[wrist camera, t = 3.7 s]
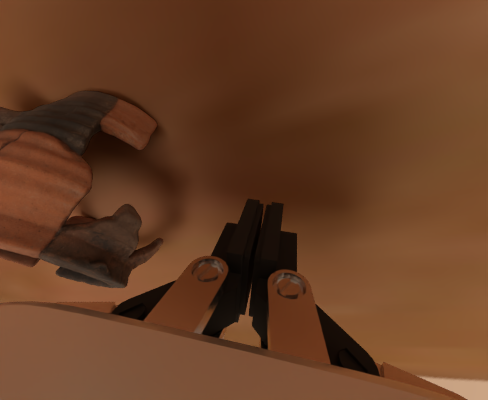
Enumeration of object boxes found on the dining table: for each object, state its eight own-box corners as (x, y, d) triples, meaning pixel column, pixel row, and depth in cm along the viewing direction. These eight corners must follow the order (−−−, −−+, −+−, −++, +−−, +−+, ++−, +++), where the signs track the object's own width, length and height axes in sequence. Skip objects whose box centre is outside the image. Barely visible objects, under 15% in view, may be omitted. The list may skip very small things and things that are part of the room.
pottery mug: (214, 135, 13) (153, 289, 9) (173, 199, 21) (130, 298, 16) (-62, -18, 9) (-396, 125, 5) (12, 129, 17) (-98, 235, 13)
